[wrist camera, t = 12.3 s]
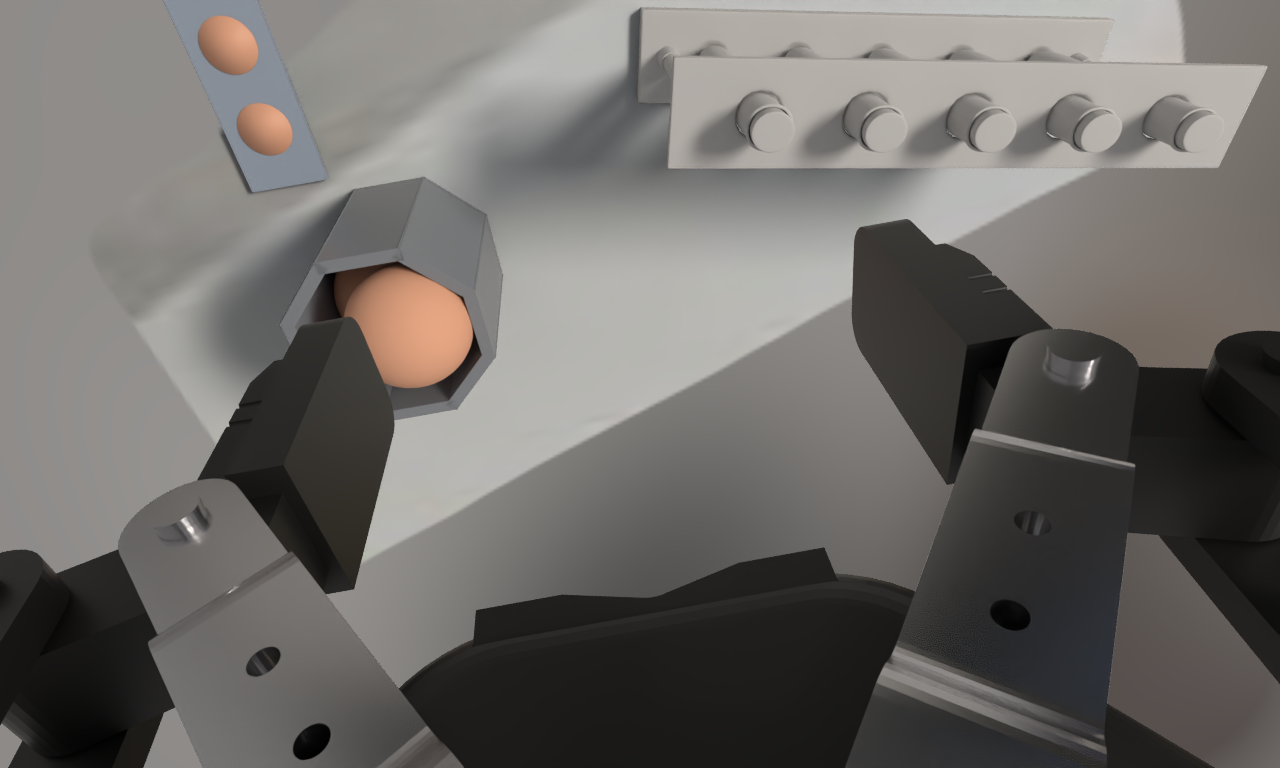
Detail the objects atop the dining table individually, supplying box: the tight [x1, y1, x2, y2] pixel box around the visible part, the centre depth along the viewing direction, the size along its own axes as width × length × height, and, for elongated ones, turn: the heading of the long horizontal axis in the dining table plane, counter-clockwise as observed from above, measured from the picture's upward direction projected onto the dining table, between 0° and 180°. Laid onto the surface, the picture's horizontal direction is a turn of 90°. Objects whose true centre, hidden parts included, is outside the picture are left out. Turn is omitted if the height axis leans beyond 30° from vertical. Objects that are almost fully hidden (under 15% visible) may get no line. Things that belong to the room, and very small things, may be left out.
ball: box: [344, 263, 474, 388], centre depth 36 cm, size 6×6×6 cm
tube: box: [279, 177, 503, 420], centre depth 39 cm, size 9×9×9 cm
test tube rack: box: [637, 7, 1267, 169], centre depth 34 cm, size 25×4×13 cm, turn 88°
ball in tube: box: [334, 261, 401, 318], centre depth 41 cm, size 6×6×6 cm
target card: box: [163, 0, 329, 193], centre depth 37 cm, size 10×4×1 cm, turn 8°
